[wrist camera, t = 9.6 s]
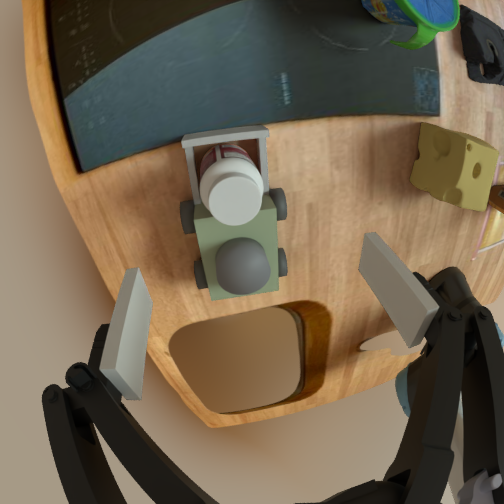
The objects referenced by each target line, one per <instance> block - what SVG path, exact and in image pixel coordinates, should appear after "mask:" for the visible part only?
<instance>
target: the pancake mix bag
mask: <svg viewBox="0 0 504 504" xmlns="http://www.w3.org/2000/svg"><path fill="white" fill-rule="evenodd" d="M488 203H489V204H490V205H491V206H492V207H494V208H495V209H497V210H498V211H500V212H502V213H503V214H504V185H494V186H493V187H492V188H491V189H490V193H489V198H488Z"/></svg>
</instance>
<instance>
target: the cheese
mask: <svg viewBox="0 0 504 504" xmlns="http://www.w3.org/2000/svg"><path fill="white" fill-rule="evenodd" d="M418 149H419V152H420V157H419V159H418V160H415V162H414V165H413V169H412V173H411V176H410V182H411V183H412V184H413V185H414V186H415V187H416V188H418V189H420V190H424V191H427V192H429V193H430V195H432V196H433V197H434V198H436V199H438V200H440V201H445V202H448V203H451V204H453V205H455V206H458V207H460V208H465V209H471V210H475V211H485V210H486V206H487V202H488V198H489V193H490V188H491V184H492V180H493V176H494V172H495V168H496V164H497V160H498V155H499V152H498V151H497V150H496V149H495V148H494V147H492V146H491V145H490V144H489V143H487V142H485V141H483V140H481V139H479V138H477V137H474V136H472V135H469V134H466V133H462V132H457V131H451V130H447V129H444V128H441V127H439V126H436V125H433V124H429V123H424V122H422V123H421V128H420V135H419V141H418Z"/></svg>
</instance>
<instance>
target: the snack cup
mask: <svg viewBox="0 0 504 504" xmlns="http://www.w3.org/2000/svg"><path fill="white" fill-rule="evenodd" d="M361 1H362V5H363V7H364V8H366V9H367V10H368V12H369V13H370V14H371V15H373V16H374V17H375V18H376V19H378V20H380V21H381V22H383V23H386V24H391V25H404V26H413V27H417V32H416V33H415V34H414V35H413V36H412V37H411V38H410V39H409V40H408V41H407V42H398V41H396V42H395V41H392V40H390V43H392V44H395V45H398V46H400V47H403V48H406V49H410V50H414V49H418V48H421V47H423V46H425V45H427V44H428V43H429V42H430V41H432V39H433V38H434V37H435V35H436V34H437V33H438V32H444V31H450V30H452V29H453V28H454V27H455V26H456V25H457V23H458V21H459V16H460V9H459V3H458V0H361Z"/></svg>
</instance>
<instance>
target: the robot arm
mask: <svg viewBox="0 0 504 504" xmlns="http://www.w3.org/2000/svg"><path fill="white" fill-rule="evenodd" d="M358 270H359V272H360V273H361V274H362V276H363V277H364V279H365V280H366V282H367V283H368V285H369V286H370V288H371V289H372V291H373V292H374V294H375V295H376V297H377V298H378V300H379V301H380V303H381V304H382V306H383V307H384V309H385V310H386V312H387V313H388V315H389V317H390V318H391V320H392V321H393V323H394V325H395V326H396V328H397V329H398V331H399V333H400V334H401V336H402V338H403V339H404V341H405V342H406V344H407V346H408V348H411V347H414V346H416V345H419V344H420V343H421V341H422V340H423V338H424V337H425V338H426V340H427V342H426V344H425V346H424V347H423V349H422V351H421V353H420V354H421V356H420V357H418V358H417V359H416V360H414V361H413V362H411V363H409V364H408V366H407V367H406V368H404V369H403V370H402V371H400V372H399V373H398V375H397V377H396V380H395V387H396V392H397V396H398V399H399V402H400V404H401V406H402V408H403V411H404V412H405V414H406V415H407V416H408V417H409V419H408V423H407V426H406V430H405V432H404V436H403V438H402V442H401V444H400V447H399V450H398V453H397V455H396V458H395V460H394V462H393V463H392V464H391V466H390V467H389V469H388V470H387V472H386V474H385V477H384V479H383V481H375V480H371V481H369V482H366V483H363V484H361V485H358V486H355V487H352V488H350V489H347V490H345V491H342V492H339V493H337V494H335V495H333V496H331V497H330V498H328V499H326V500H324V501H322V502H320V503H295V504H442V503H440V501H441V499H442V496H443V493H444V490H445V488H446V485H447V482H449V485H450V488H451V491H452V494H453V498H454V500H455V504H504V352H503V346H504V335H503V333H502V332H501V330H500V329H499V327H498V325H497V323H495V322H494V319H493V316H492V314H491V312H490V311H489V310H488V308H486V307H484V306H482V305H481V304H480V303H479V302H478V301H477V299H476V298H475V297H474V296H473V294H472V292H471V290H470V287H469V285H468V283H467V281H466V278H465V275H464V274H463V273H462V272H461V271H460V270H459V269H458V268H457V267H450V268H447V269H445V270H443V271H441V272H440V273H439V274H437V275H436V276H435V277H434V278H433V279H432V280H431V281H430V282H429V283H428V281H427V280H426V279H425V278H424V277H423V276H422V275H420V274H419V273H417V272H413V273H412V272H411V271H410V270H409V269H408V268H407V266H406V265H405V264H404V263H403V262H402V261H401V260H400V258H399V257H398V256H397V255H396V254H395V253H394V252H393V251H392V249H391V248H390V247H389V246H388V245H387V244H386V243H385V242H384V241H383V240H382V239H381V238H380V236H379V235H378V234H377V233H376V232H371V233H365V234H364V241H363V247H362V253H361V259H360V264H359V269H358ZM152 306H153V302H152V299H151V297H150V295H149V292H148V290H147V287H146V285H145V282H144V280H143V277H142V275H141V272H140V269H139V267H138V268H131V269H126V272H125V275H124V279H123V282H122V285H121V288H120V291H119V294H118V298H117V301H116V305H115V308H114V312H113V315H112V319H111V322H110V324H102V325H101V326H100V328H99V329H98V331H97V332H96V335H95V339H94V342H93V346H92V350H91V354H90V358H89V362H88V365H87V364H85V363H82V362H80V363H75V364H73V365H72V366H71V367H70V368H69V369H68V370H67V372H66V376H65V379H66V383H67V384H68V385H69V386H70V387H68V388H65V389H62V388H60V387H59V386H58V385H56V384H52V385H50V386H48V387H46V388H45V390H44V391H43V394H42V404H43V411H44V417H45V422H46V427H47V431H48V437H49V441H50V445H51V449H52V453H53V457H54V460H55V464H56V467H57V471H58V474H59V477H60V480H61V483H62V486H63V489H64V492H65V494H66V497H67V500H68V502H69V504H127V502H126V501H125V499H124V497H123V495H122V493H121V491H120V489H119V487H118V485H117V483H116V481H115V478H114V476H113V474H112V472H111V469H110V467H109V465H108V462H107V460H106V458H105V455H104V452H103V450H102V447H101V444H100V442H99V439H98V436H97V433H96V430H95V427H94V424H95V426H96V427H97V429H98V430H99V432H100V434H101V435H102V437H103V438H104V440H105V441H106V442H107V444H108V445H109V447H110V448H111V450H112V451H113V452H114V454H115V455H116V457H117V458H118V459H119V461H120V462H121V463H122V465H123V466H124V467H125V468H126V470H127V471H128V472H129V473H130V474H131V476H132V477H133V478H134V480H135V481H136V482H137V483H138V484H139V485H140V487H141V488H142V489H143V490H144V491H145V492H146V493H147V494H148V496H149V497H150V498H151V499H152V500H153V501H154V502H155V503H156V504H219V503H218V502H217V501H215V500H214V499H213V498H212V497H211V496H209V495H208V494H207V493H206V492H205V491H203V490H202V489H201V488H200V487H198V485H197V484H195V483H194V482H193V481H192V480H191V479H190V478H189V477H188V476H187V475H186V474H185V473H184V472H182V470H180V468H179V467H178V466H177V465H175V463H173V461H172V460H171V459H170V458H168V456H167V455H166V454H165V453H164V452H163V451H162V450H161V449H160V448H159V447H158V446H157V445H156V443H155V442H154V441H153V440H152V439H151V438H150V437H149V435H148V434H147V433H146V432H145V431H144V429H143V428H142V427H141V426H140V425H139V423H138V422H137V421H136V420H135V419H134V417H133V416H132V415H131V413H130V412H129V411H128V410H127V408H126V407H125V406H124V404H123V403H122V402H121V398H122V395H123V396H124V397H125V399H126V400H141V399H142V386H143V375H144V365H145V356H146V348H147V340H148V333H149V325H150V319H151V312H152ZM423 352H424V354H422V353H423ZM461 399H462V402H461ZM93 423H94V424H93Z"/></svg>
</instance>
